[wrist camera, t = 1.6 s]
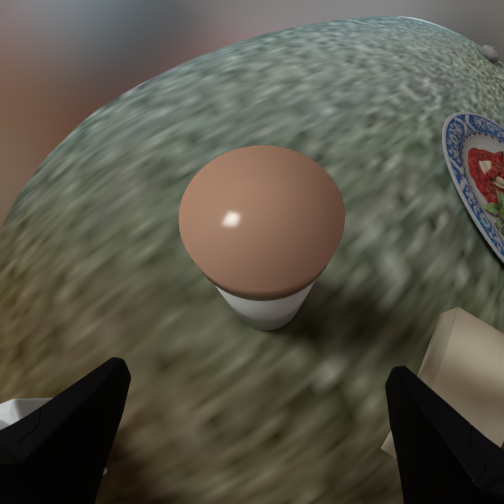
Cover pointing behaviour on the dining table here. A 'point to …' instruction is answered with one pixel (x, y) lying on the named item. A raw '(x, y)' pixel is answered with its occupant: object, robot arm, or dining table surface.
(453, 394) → the base block
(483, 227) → the ceramic plate
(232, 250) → the jar
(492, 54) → the garlic
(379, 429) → the dining table surface
